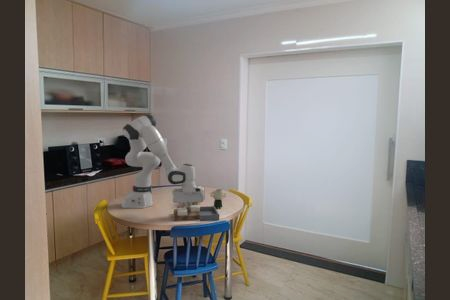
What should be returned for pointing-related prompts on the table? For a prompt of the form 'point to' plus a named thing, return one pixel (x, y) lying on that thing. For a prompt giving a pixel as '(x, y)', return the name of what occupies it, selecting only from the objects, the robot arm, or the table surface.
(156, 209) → the table surface
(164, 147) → the robot arm
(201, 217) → the box
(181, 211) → the tile
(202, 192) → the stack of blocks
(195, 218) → the board
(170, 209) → the table surface
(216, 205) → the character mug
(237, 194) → the table surface
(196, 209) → the tile
